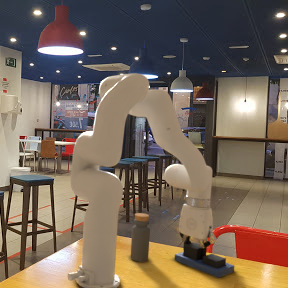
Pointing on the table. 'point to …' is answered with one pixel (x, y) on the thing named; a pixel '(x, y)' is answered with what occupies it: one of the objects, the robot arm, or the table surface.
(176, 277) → the table surface
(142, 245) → the bottle
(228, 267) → the frame
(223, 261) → the pad
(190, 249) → the pad
